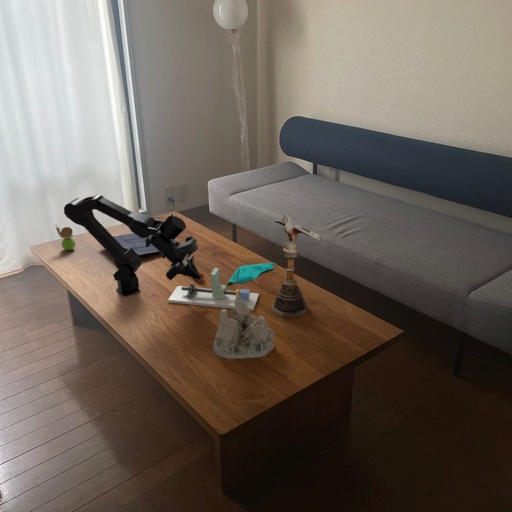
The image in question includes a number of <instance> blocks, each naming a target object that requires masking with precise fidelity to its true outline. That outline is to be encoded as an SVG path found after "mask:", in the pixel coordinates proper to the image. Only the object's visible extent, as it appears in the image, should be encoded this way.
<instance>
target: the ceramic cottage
mask: <svg viewBox="0 0 512 512" xmlns="http://www.w3.org/2000/svg"><path fill="white" fill-rule="evenodd" d="M229 316H230V317H229ZM275 334H276V333H275V331H274V330H272V329H271V327H270V326H269V324H268V322H267V321H266V318H265V316H263V315H260V316H258V317H257V316H255V315H252V314H251V310H249V308H248V307H247V305H246V303H245V301H242V302H241V299H240V296H236V299H235V306H234V308H233V309H231V311H230V313H229V314H228V310H227V308H222V309H221V310H220V317H219V323H218V328H217V330H216V334H215V335H214V337H215V339H214V341H213V343H212V348H211V349H212V352H213V354H215V355H216V356H218V357H220V358H224V359H228V360H234V359H246V358H248V359H249V358H261V357H266V356H267V355H268V354H269V353H270V352H271V351H273V350H274V348H275V343H274V341H273V340H274V336H275Z"/></svg>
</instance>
